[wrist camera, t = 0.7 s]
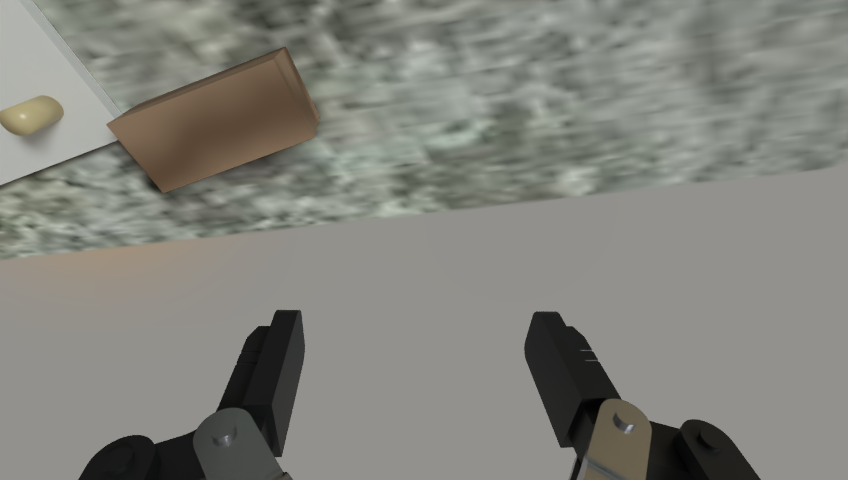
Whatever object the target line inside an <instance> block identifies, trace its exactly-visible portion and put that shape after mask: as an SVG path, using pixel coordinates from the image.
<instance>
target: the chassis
mask: <svg viewBox="0 0 848 480" xmlns="http://www.w3.org/2000/svg"><path fill="white" fill-rule="evenodd" d="M120 115H122V113H121V112H120V111H119V109H118V108H117V107H116V106H115V104H114V103H113V102H112V101H111V99H110V98H109V97H108V96H107V94H106V93H105V92H104V91H103V89H102V88H101V87H100V85H99V84H98V83H97V82H96V80H95V79H94V78H93V77H92V75H91V74H90V73H89V72H88V70H87V69H86V68H85V67H84V65H83V64H82V63H81V61H80V60H79V59H78V58H77V56H76V55H75V54H74V53H73V51H72V50H71V49H70V48H69V46H68V45H67V44H66V43H65V41H64V40H63V39H62V37H61V36H60V35H59V34H58V32H57V31H56V30H55V29H54V27H53V26H52V25H51V24H50V22H49V21H48V20H47V19H46V17H45V16H44V15H43V14H42V12H41V11H40V10H39V8H38V7H37V6H36V5H35V3H34V2H33V1H32V0H0V185H2V184H5V183H7V182H10V181H13V180H15V179H18V178H20V177H23V176H26V175H28V174H31V173H33V172H36V171H39V170H41V169H44V168H47V167H49V166H52V165H54V164H57V163H60V162H62V161H65V160H68V159H70V158H73V157H75V156H78V155H81V154H83V153H86V152H88V151H91V150H94V149H96V148H99V147H102V146H104V145H107V144H109V143H112V142H115V141H117V140H118V139H117V137H116V136H115V135H114V134H113V133H112V131H111V130H110V129H109V128H108V127H107V125H106V124H107V123H109V122H110V121H112V120H114V119H115V118H117V117H119V116H120Z"/></svg>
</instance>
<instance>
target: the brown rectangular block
mask: <svg viewBox="0 0 848 480" xmlns="http://www.w3.org/2000/svg"><path fill="white" fill-rule="evenodd" d="M319 119H320V116H319V114H318V112H317V110H316V108H315V106H314V104H313V102H312V100H311V98H310V96H309V94H308V91H307V89H306V87H305V85H304V83H303V81H302V79H301V77H300V75H299V73H298V71H297V69H296V67H295V65H294V63H293V61H292V59H291V57H290V55H289V53H288V50H287V48H286V47H283V48H281V49H278V50H275V51H273V52H270V53H268V54H265V55H263V56H260V57H258V58H255V59H252V60H250V61H247V62H245V63H242V64H240V65H237V66H235V67H232V68H229V69H227V70H224V71H222V72H219V73H217V74H214V75H212V76H209V77H206V78H204V79H201V80H199V81H196V82H194V83H191V84H189V85H186V86H183V87H181V88H178V89H176V90H173V91H171V92H168V93H166V94H163V95H160V96H158V97H155V98H153V99H150V100H148V101H145V102H143V103H140V104H138V105H137V106H135V107H133V108H132V109H130V110H128V111H127V112H125V113H123V114H122V115H120V116H119V117H117V118H115V119H114V120H112V121H110V122H109V123H107V124H106V125H107V127H108V128H109V129H110V130H111V131H112V133H113V134H114V135H115V136H116V137H117V139H118V140H119V141H120V142H121V143H122V145H123V146H124V147H125V148H126V149H127V151H128V152H129V153H130V154H131V155H132V156H133V158H134V159H135V160H136V161H137V162H138V164H139V165H140V166H141V167H142V168H143V170H144V171H145V172H146V173H147V174H148V176H149V177H150V178H151V179H152V180H153V182H154V183H155V184H156V185H157V186H158V188H159V189H160V190H161V191H162V192H163V193H165V192H168V191H171V190H173V189H176V188H179V187H182V186H184V185H187V184H190V183H193V182H195V181H198V180H201V179H203V178H206V177H209V176H212V175H214V174H217V173H220V172H223V171H225V170H228V169H231V168H233V167H236V166H239V165H242V164H244V163H247V162H250V161H253V160H255V159H258V158H261V157H263V156H266V155H269V154H272V153H274V152H277V151H280V150H283V149H285V148H288V147H291V146H293V145H296V144H299V143H302V142H304V141H307V140H310V139H313V138H314V135H315V132H316V129H317V126H318V122H319Z"/></svg>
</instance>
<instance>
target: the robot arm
mask: <svg viewBox="0 0 848 480" xmlns="http://www.w3.org/2000/svg"><path fill="white" fill-rule="evenodd" d="M524 349H525V358H526V361H527V364H528V366H529V369H530V371H531V374H532V376H533V379H534V381H535V384H536V387H537V389H538V392H539V394H540V396H541V399H542V402H543V404H544V407H545V409H546V412H547V414H548V416H549V419H550V422H551V425H552V427H553V429H554V432H555V435H556V437H557V440H558V442H559V445H560V447H561V448H564V447H574V449H575V452H576V454H577V456H576V458H575V460H574V463H573V467H572V470H571V474H570V477H569V480H761V479H760V478H759V477H758V475H757V474H756V473H755V471H754V470H753V469H752V467H751V466H750V464H749V463H748V462H747V460H746V459H745V458H744V456H743V455H742V453H741V452H740V451H739V450H738V448H737V447H736V445H735V444H734V443H733V441H732V440H731V439H730V438H729V437H728V436H727V435H726V434H725V433H724V432H723V431H721V430H720V429H718V428H717V427H715V426H714V425H712V424H709V423H707V422H705V421H701V420H693V419H692V420H687V421H686V422H684V423H683V425H682V426H681V428H680V429H678V428H674V427H670V426H667V425H663V424H659V423H655V422H652V421H649V420H648V419H647V417H646V416H645V414H644V413H643V412H642V411H641V410H639V409H638V408H637V407H635V406H634V405H632V404H631V403H629V402H627V401H624V400H622V399H621V397H620V396H619V394H618V393H617V391H616V389H615V387H614V386H613V384H612V382H611V381H610V379H609V378H608V376H607V374H606V372H605V371H604V369H603V367H602V366H601V364H600V362H598V359H597V358H596V356H595V354H594V352H592V349H591V347H590V346H589V344H588V342H587V340H586V339H585V337H584V336H583V335H582V334H580V333H579V332H578V331H577V330H576V329H575V328H574V327H572V326H566V325H565V323H564V321H563V319H562V318H561V316H560V314H559V313H558V312H535V313H534V314H533V317H532V320H531V324H530V327H529V331H528V334H527V337H526V341H525V347H524ZM304 352H305V344H304V333H303V324H302V315H301V311H300V310H277V311H276V312H275V314H274V317H273V320H272V323H271V326H258V327H257V328H256V329H255V330H254V331H253V332H252V333H251V334H250V335H249V336H248V337H247V339H246V342H245V344H244V346H243V349H242V352H241V354H240V356H239V358H238V361H237V365H236V366H235V368H234V371H233V373H232V375H231V378H230V380H229V382H228V385H227V388H226V390H225V393H224V395H223V397H222V400H221V402H220V404H219V407H218V408H217V411H216V412H215V413H213V414H212V415H210V416H209V417H207V418H206V419H205V420H204V421H203V422H202V423H201V424H200V425H199V427H198V428H197V429H196V430H195V431H193V432H190V433H188V434H186V435H183V436H180V437H176V438H173V439H170V440H167V441H163V442H160V443H157V444H154V443H153V442H152V440H150V439H149V438H148V437H145V436H141V435H132V436H127V437H123V438H120V439H118V440H116V441H114V442H112V443H110V444H108V445H107V446H105V447H104V448H103V449H101V450H100V451H99V452H98V453H97V454H96V455H95V456H94V457H93V458H92V459H91V460H90V461H89V463H88V464H87V466H86V467H85V469H84V471H83V473H82V474H81V476H80V478H79V480H293V479H292V478H291V476H290V475H289V474H288V473H287V472H285V473H284V472H283V471H282V469H281V468H280V466H279V464H278V463H277V461H276V459H275V457H282V453H283V449H284V444H285V440H286V435H287V431H288V427H289V422H290V417H291V414H292V409H293V405H294V401H295V396H296V392H297V387H298V383H299V379H300V374H301V370H302V365H303V360H304Z"/></svg>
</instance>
